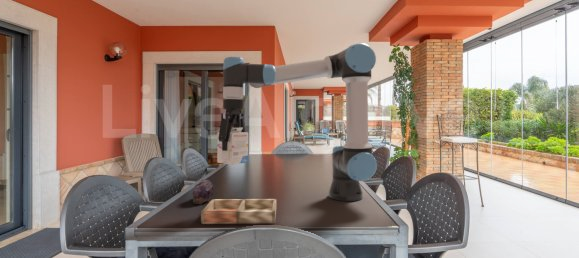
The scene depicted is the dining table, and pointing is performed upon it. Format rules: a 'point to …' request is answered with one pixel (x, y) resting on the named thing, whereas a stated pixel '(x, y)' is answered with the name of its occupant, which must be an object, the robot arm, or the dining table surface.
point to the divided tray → (239, 211)
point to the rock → (202, 191)
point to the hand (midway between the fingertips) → (232, 157)
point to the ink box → (235, 147)
